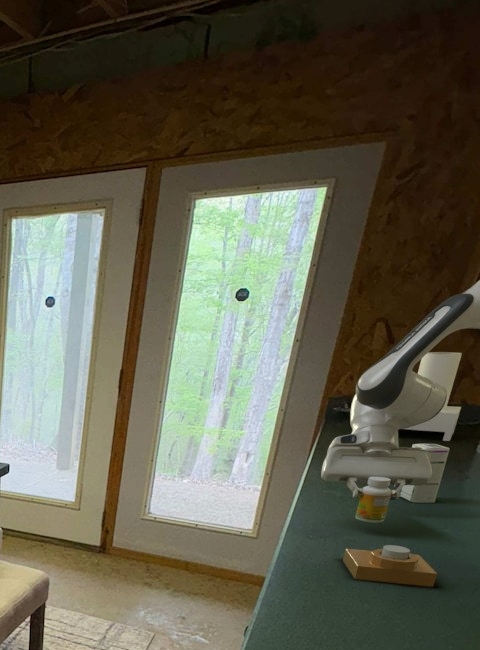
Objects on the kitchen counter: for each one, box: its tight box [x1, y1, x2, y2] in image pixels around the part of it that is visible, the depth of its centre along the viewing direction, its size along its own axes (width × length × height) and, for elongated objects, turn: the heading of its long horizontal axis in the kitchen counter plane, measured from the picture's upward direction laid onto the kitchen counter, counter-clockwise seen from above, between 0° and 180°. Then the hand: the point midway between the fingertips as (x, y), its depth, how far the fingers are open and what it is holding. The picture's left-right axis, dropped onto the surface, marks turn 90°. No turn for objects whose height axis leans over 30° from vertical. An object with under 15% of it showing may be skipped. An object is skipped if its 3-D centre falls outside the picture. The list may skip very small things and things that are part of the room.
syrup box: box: [399, 443, 450, 504], centre depth 162 cm, size 6×6×14 cm
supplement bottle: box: [354, 477, 392, 524], centre depth 142 cm, size 5×5×10 cm
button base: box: [342, 548, 438, 588], centre depth 120 cm, size 12×10×5 cm
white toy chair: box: [404, 351, 463, 442], centre depth 235 cm, size 19×19×30 cm
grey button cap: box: [381, 544, 411, 560], centre depth 118 cm, size 4×4×2 cm
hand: (375, 497), depth 141 cm, fingers closed on supplement bottle, 5 cm apart
